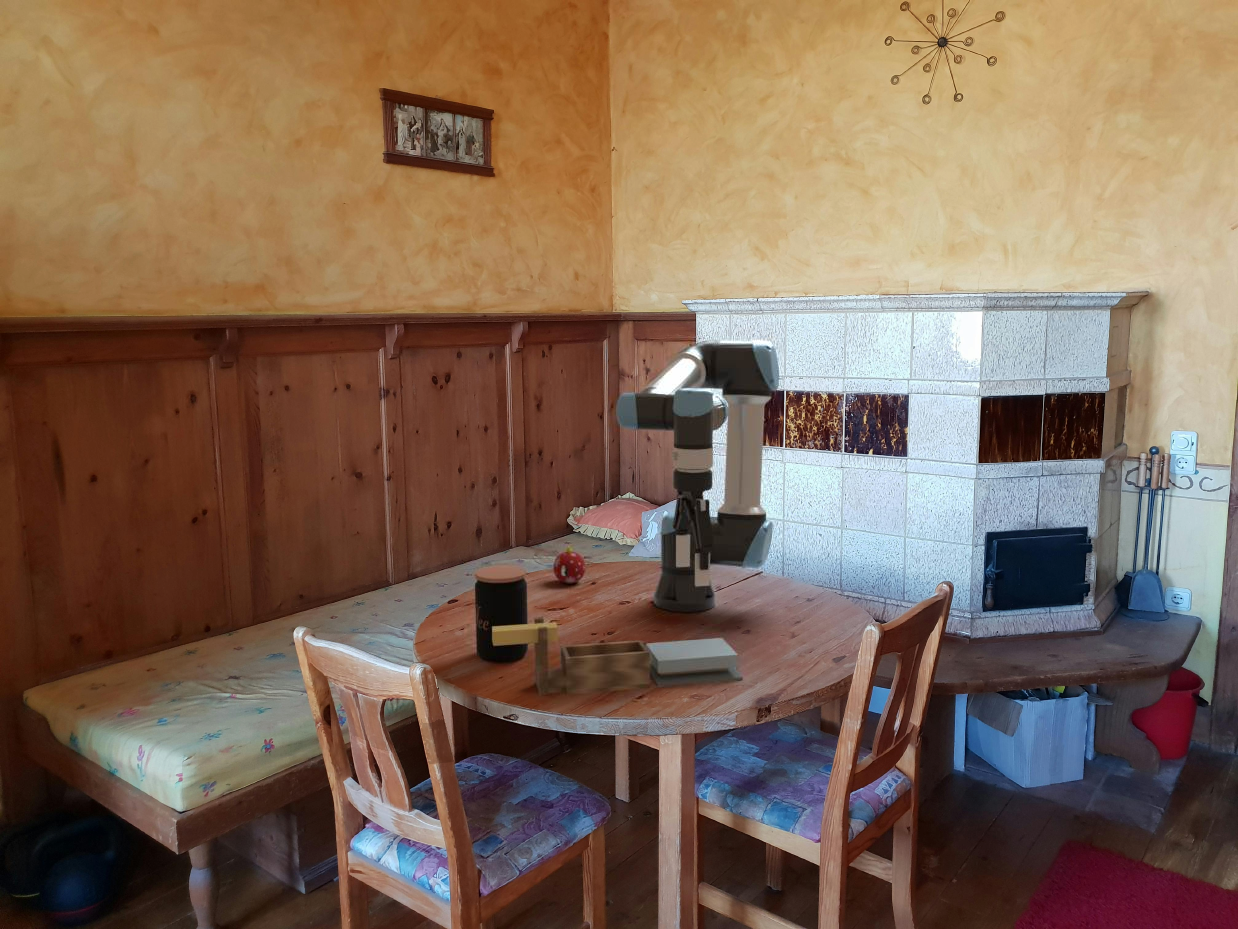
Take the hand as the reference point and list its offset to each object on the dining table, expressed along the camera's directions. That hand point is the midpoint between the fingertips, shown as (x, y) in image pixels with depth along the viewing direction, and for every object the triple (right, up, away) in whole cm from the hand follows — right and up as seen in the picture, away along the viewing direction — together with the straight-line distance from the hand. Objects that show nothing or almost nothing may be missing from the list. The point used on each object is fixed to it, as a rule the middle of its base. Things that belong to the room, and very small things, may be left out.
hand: (692, 575), depth 183 cm
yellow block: (-32, -11, -8) cm, 35 cm away
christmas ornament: (-28, -10, +66) cm, 72 cm away
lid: (0, -17, +2) cm, 17 cm away
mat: (0, -19, +3) cm, 20 cm away
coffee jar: (-39, -18, +12) cm, 45 cm away
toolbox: (-19, -20, -4) cm, 29 cm away
